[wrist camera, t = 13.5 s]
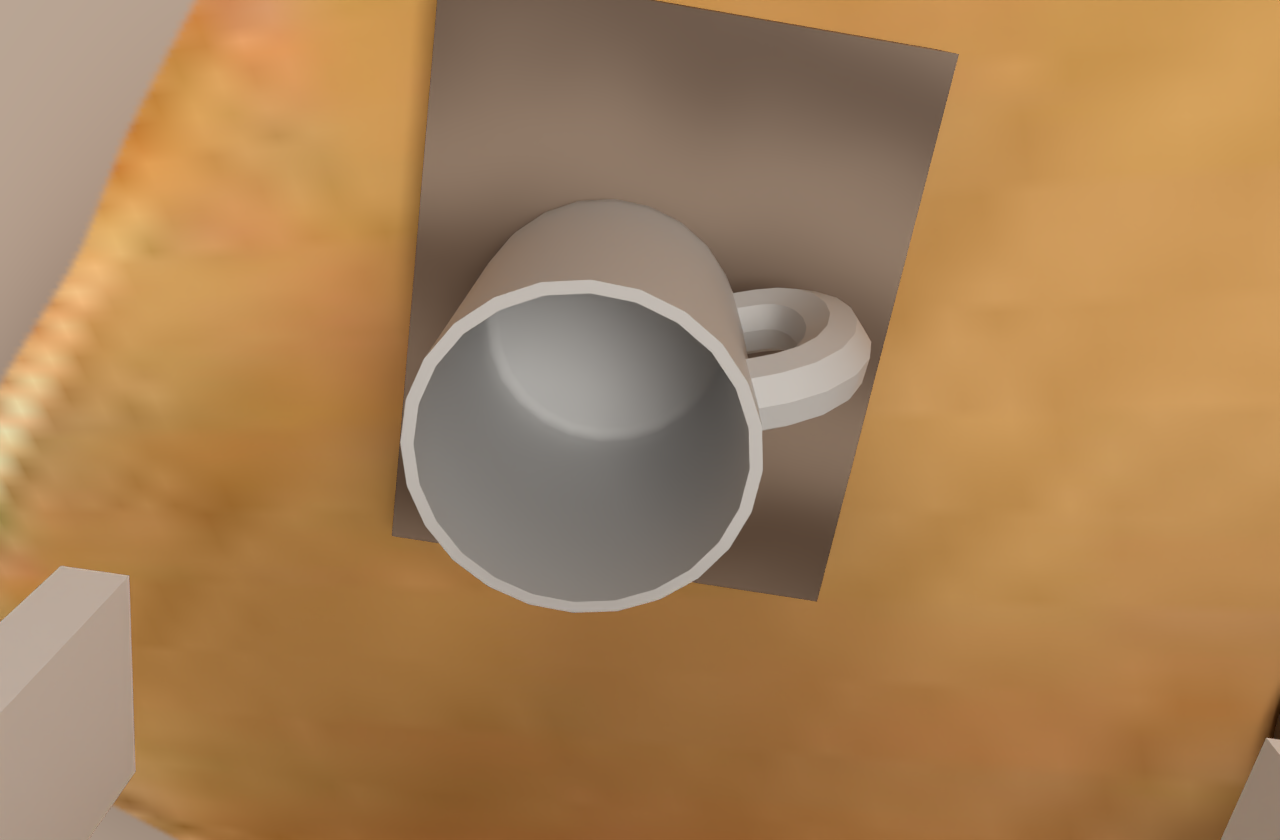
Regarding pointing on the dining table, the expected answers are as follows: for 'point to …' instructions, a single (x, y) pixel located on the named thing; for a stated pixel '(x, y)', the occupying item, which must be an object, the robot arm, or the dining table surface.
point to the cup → (611, 407)
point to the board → (687, 191)
